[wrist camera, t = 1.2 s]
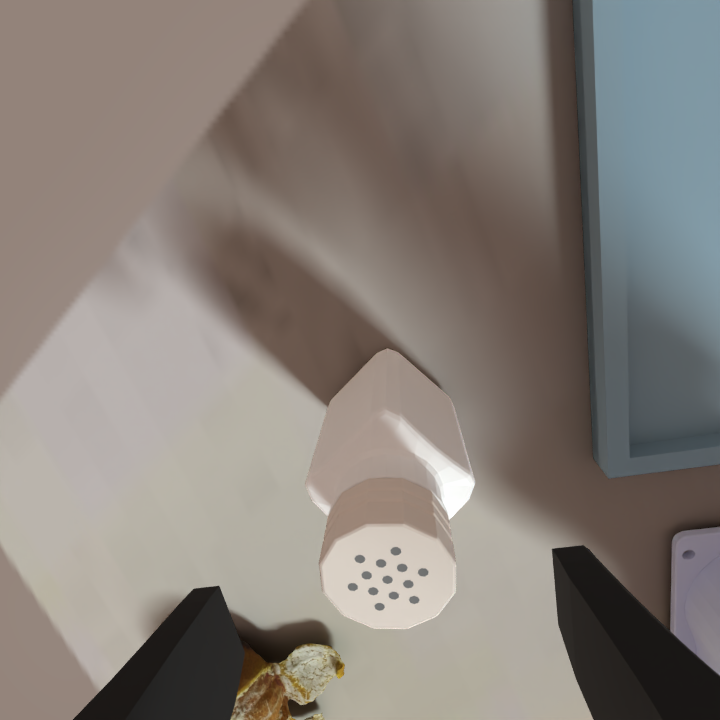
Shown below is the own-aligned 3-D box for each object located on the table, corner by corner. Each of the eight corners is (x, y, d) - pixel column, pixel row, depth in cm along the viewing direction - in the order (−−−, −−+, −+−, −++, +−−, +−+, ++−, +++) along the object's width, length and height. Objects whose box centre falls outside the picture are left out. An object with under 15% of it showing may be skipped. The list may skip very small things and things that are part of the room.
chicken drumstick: (315, 744, 27) (299, 826, 23) (176, 700, 27) (140, 775, 23) (352, 646, 24) (340, 724, 20) (195, 598, 24) (157, 667, 20)
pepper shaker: (458, 400, 19) (514, 580, 10) (392, 460, 21) (392, 668, 12) (387, 337, 19) (382, 473, 10) (322, 403, 20) (266, 579, 11)
